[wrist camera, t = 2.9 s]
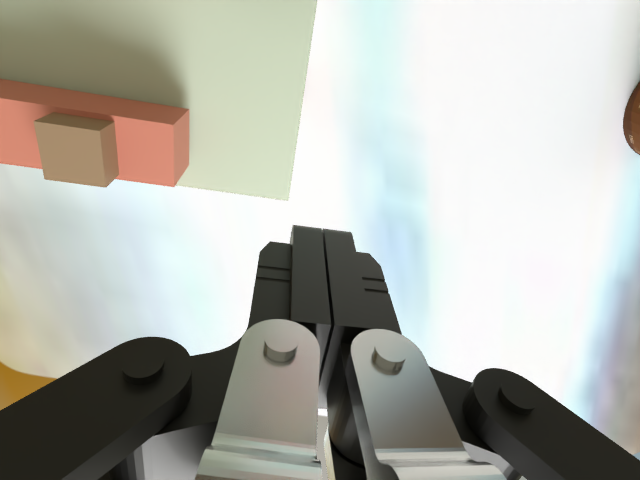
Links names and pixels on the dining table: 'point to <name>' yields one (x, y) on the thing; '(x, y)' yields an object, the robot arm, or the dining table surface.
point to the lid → (181, 73)
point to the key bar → (91, 136)
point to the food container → (633, 120)
